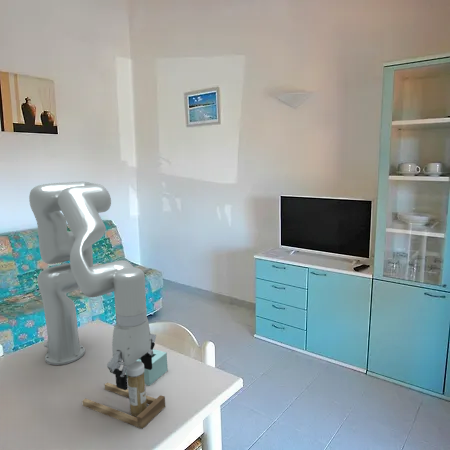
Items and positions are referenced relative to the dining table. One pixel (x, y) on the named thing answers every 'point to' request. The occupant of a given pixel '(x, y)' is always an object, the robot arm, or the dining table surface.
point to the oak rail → (138, 421)
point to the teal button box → (155, 367)
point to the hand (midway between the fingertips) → (135, 377)
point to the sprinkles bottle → (136, 388)
